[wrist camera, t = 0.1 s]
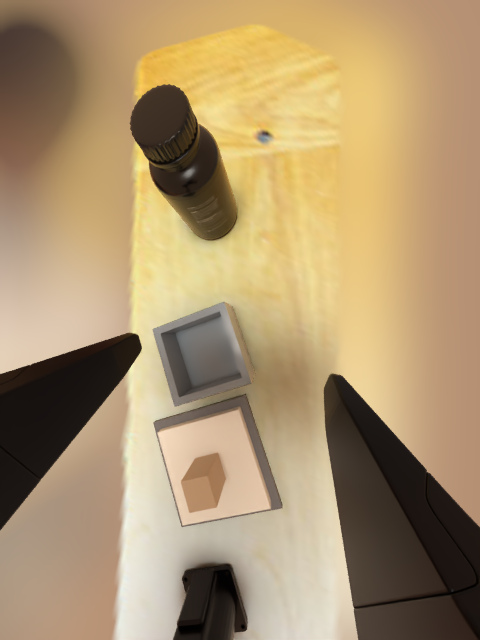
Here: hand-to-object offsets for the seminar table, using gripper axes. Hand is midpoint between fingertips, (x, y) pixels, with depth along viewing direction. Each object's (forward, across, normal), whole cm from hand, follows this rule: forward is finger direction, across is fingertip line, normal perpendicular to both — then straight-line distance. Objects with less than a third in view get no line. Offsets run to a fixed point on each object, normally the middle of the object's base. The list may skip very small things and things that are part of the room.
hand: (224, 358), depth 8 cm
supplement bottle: (+21, +8, -5) cm, 23 cm away
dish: (+11, +5, +10) cm, 16 cm away
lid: (+4, +3, +21) cm, 21 cm away
